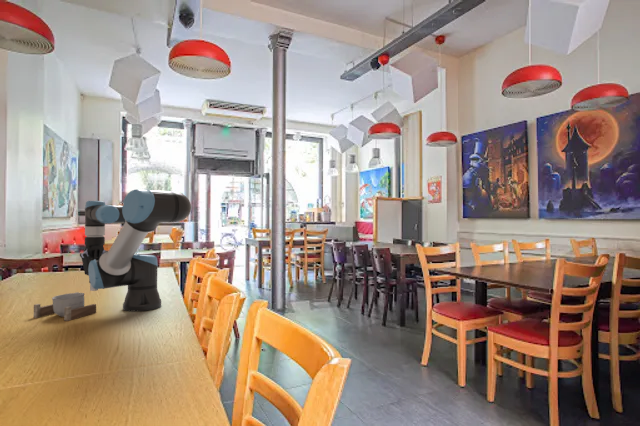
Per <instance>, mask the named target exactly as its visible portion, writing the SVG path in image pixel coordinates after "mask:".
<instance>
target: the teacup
mask: <svg viewBox="0 0 640 426" xmlns="http://www.w3.org/2000/svg"><path fill="white" fill-rule="evenodd" d="M51 299H52V304H53V310H54V314H56V315H57V316H59V317H62V318H63V317H64V309H65V307H71V310H72V309H76V308H80V307H84V306H85V292H79V291H75V292H73V293H71V292H70V293H65V294H58V295H55V296H53V297H51Z"/></svg>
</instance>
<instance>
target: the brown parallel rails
mask: <svg viewBox="0 0 640 426" xmlns="http://www.w3.org/2000/svg"><path fill="white" fill-rule="evenodd" d="M96 313H97V304H96V303H93V304H92V303H91V304H89V305H84V307H80V308H76V309H72V310H71V307H65V309H64V320H63V321H64V322H68V321H72V320H75V319H79V318H82V317H86V316H90V315H93V314H96ZM54 314H55V313H54V310H53V303H52V304H49V305H44V306H41V303H36V304H33V318H35V319H37V318H42V317H45V316H49V315H54Z"/></svg>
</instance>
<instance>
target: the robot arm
mask: <svg viewBox="0 0 640 426" xmlns="http://www.w3.org/2000/svg"><path fill="white" fill-rule="evenodd" d="M191 211H192V203H191V202H190V199H189V198H188V197H187V196H186V195H184V194H183V193H181V192H179V191H176V190H175V191H173V190H170V191H169V190H157V189H155V190H154V189H148V188H142V189H141V188H140V189H139V188H138V189H133V190H130V191H129V192H128V193H127V194H126V195H125V197H124V199H123V205H112V204H106V202H105V201H103V200H86V202H85V207H84V236H85V237H84V245H85V249H84V251H83V252H81V253H79V257H80V258H81V261H82V267H83V272H84V275H86V276H88V279H89V281H88V283H89V285H90V286H89V290H90V292H91V291H93V292H96V291H99V290H100V289H101V290H105V289H111V288H115V287H116V288H119V287H125V286H127V292H126V295H125V298H124V302H123V303H122V310H123V311H125V312H144V311H151V310H156V309H159V308H161V307H162V299H161V297H160V293H159V291H158V266H159V264H158V258H157V256H156V255H152V254H140V253H137V252H138V249H139V248H140V247H141V244H143V242H144V240H145V238H146V237H147V235H148V233H151V232H154V231H155V230H156V229H157V228H158V226H159V224H162V223H164V224H165V223H167V224H168V223H170V224H171V223H178V222H183V221H185V219H187V218H188V217H189V215H190V214H191ZM106 224H123V225H122V228H121V229H120V230H119V232H118V234H117V236H116V238H115V239H114V241H113V243H112V245H111V247H110V248H109V250H105V247H104V245H105V242H106V237H105V235H106Z"/></svg>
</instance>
